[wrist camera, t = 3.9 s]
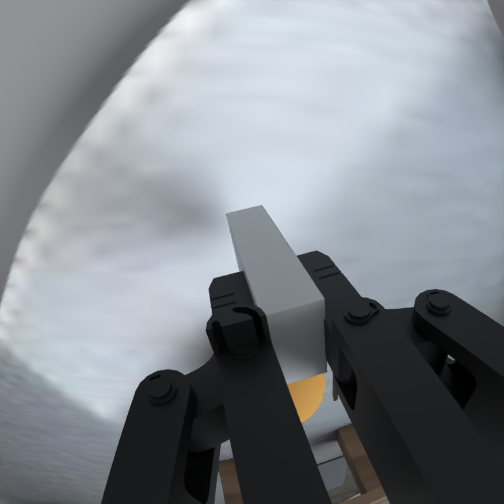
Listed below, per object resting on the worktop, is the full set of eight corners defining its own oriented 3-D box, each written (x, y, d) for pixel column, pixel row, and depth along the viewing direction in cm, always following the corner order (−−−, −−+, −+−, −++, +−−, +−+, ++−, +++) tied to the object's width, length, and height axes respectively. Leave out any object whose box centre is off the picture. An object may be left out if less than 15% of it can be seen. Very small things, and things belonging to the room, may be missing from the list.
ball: (235, 388, 21) (250, 453, 16) (216, 335, 18) (229, 409, 14) (310, 367, 22) (337, 427, 17) (304, 311, 19) (340, 376, 14)
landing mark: (257, 508, 37) (257, 509, 37) (238, 485, 30) (238, 486, 30) (342, 484, 38) (343, 485, 38) (348, 453, 32) (349, 454, 32)
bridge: (354, 434, 29) (385, 500, 21) (225, 471, 28) (240, 544, 20) (356, 422, 28) (391, 493, 20) (217, 462, 26) (233, 541, 18)
